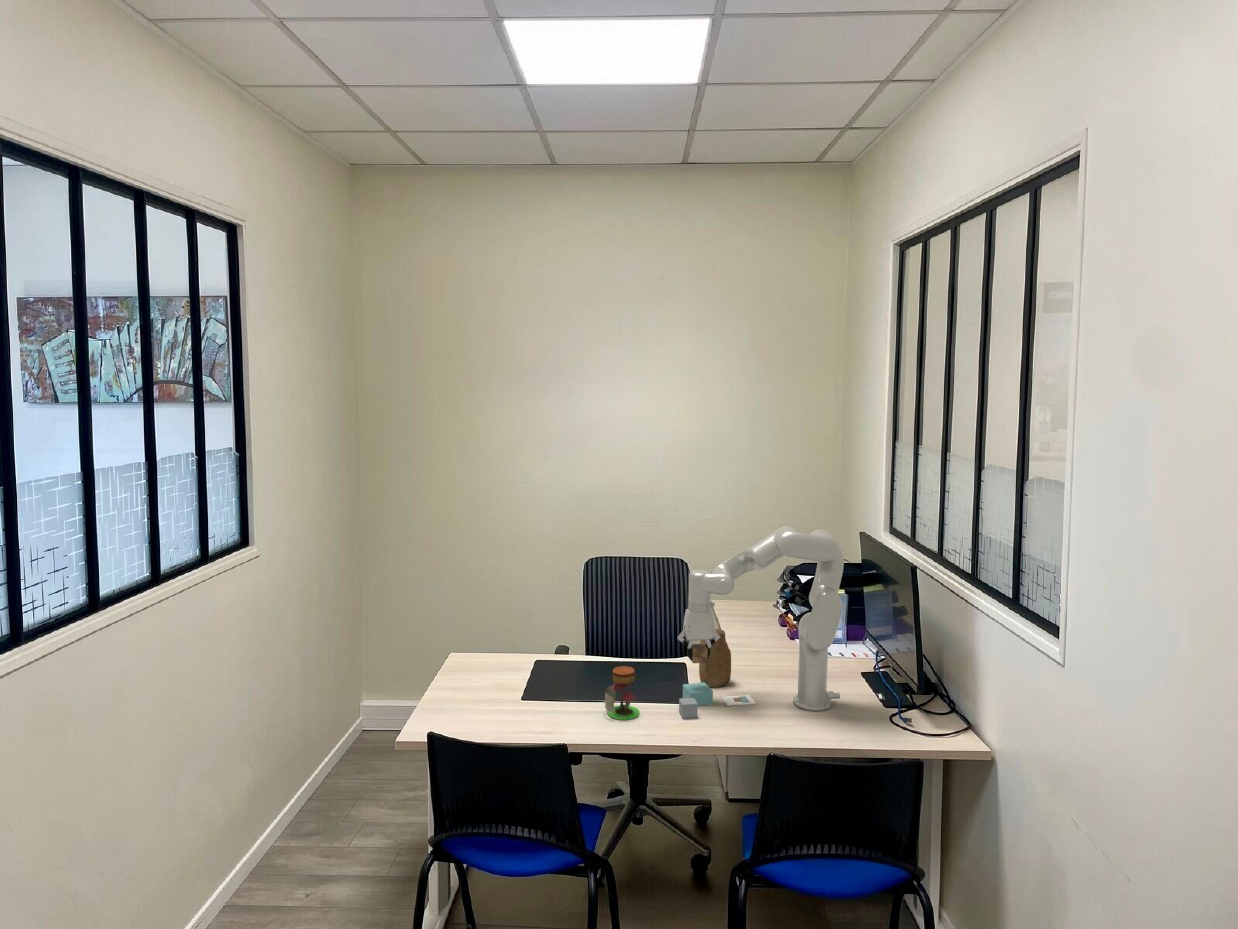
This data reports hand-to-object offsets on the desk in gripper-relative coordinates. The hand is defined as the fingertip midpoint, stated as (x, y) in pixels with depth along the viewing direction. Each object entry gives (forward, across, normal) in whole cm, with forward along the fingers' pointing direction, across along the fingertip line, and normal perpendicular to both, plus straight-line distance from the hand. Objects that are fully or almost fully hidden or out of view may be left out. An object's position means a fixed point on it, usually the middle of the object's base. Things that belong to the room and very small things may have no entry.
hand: (698, 657), depth 283 cm
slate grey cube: (+16, +6, +11) cm, 20 cm away
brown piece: (+16, -10, -14) cm, 23 cm away
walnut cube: (+1, 0, 0) cm, 1 cm away
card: (+15, -14, +2) cm, 21 cm away
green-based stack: (+16, +27, +6) cm, 32 cm away
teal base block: (+16, 0, 0) cm, 16 cm away
